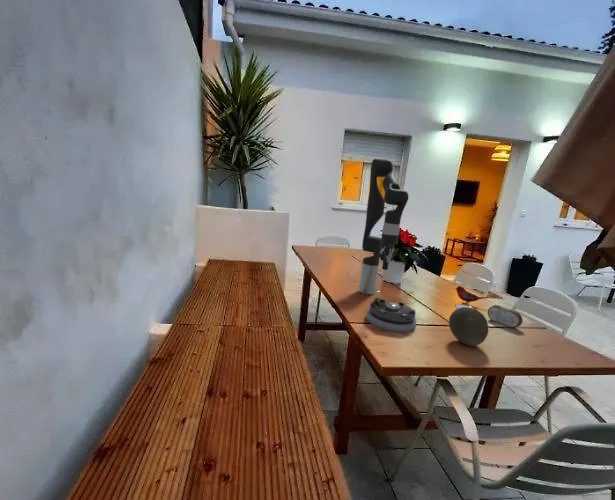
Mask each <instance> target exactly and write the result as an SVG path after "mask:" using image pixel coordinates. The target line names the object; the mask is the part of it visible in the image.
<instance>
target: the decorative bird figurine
mask: <svg viewBox="0 0 615 500" xmlns="http://www.w3.org/2000/svg"><path fill="white" fill-rule="evenodd" d="M454 290H456V294H457V296H458V297H459V299H460V300H462V301H463V302H461V301H460V303H461V304H462V305H470V303H471V302H476V301H478V300H482V299H483V300H484V299H489V297H486V296H478V295H476V294H474V293H473V292H470V291H467V290H466V289H465V288H464V287H463V286H461V285H459V286H458V285H457V287H456V288H454Z"/></svg>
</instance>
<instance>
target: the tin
mask: <svg viewBox="0 0 615 500" xmlns="http://www.w3.org/2000/svg"><path fill="white" fill-rule="evenodd" d="M487 316H488V318H489V319H490V320H491V321H492V322H494V323H497V324H499V325H502V326H505V327H507V328H510V329H516V328H519V327H520V326H521V325H522V324H523V322H524V321H523V320H524V319H523V317H522V315H521V314H520V312H518V311H516V310H513V309H511V308H508V307H505V306H502V305H498V304H495V305H492V306H491V307H489V308H488V310H487Z"/></svg>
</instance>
